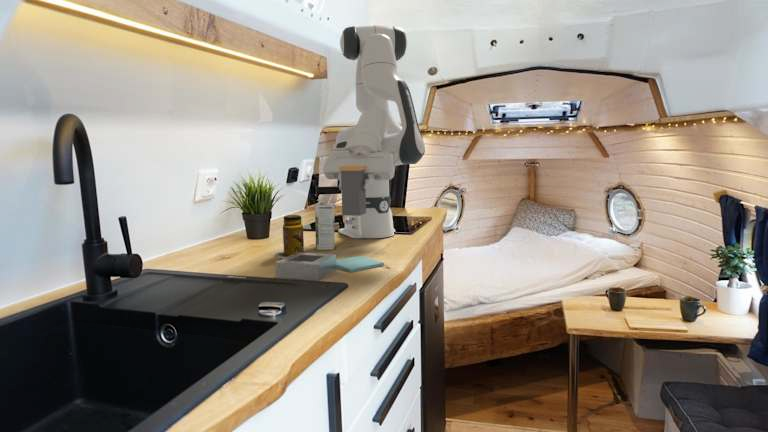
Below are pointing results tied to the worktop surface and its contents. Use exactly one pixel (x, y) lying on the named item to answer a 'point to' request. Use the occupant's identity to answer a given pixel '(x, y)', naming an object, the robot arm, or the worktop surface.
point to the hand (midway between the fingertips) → (352, 189)
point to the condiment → (292, 236)
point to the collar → (306, 266)
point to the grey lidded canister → (353, 190)
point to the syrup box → (324, 226)
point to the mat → (357, 263)
